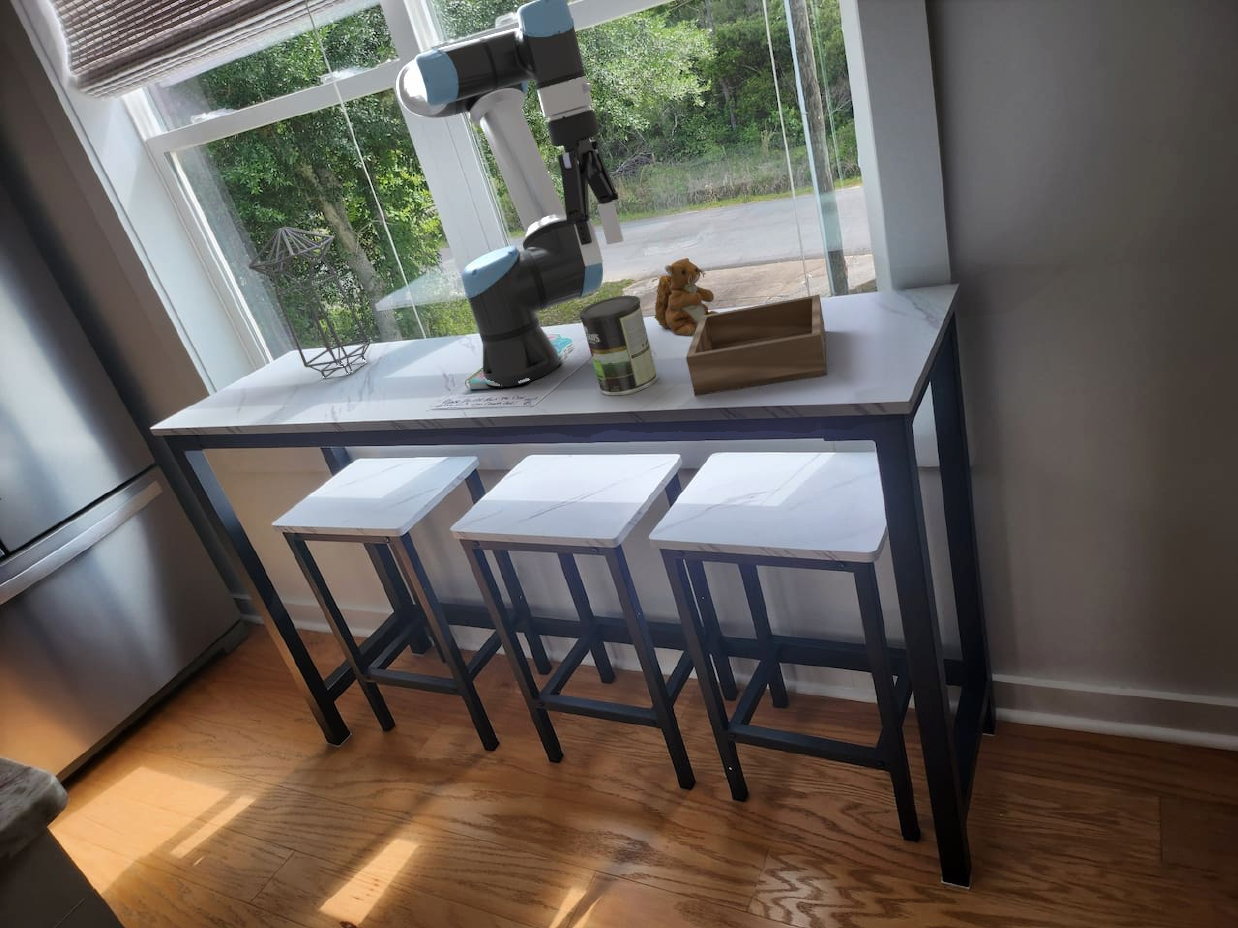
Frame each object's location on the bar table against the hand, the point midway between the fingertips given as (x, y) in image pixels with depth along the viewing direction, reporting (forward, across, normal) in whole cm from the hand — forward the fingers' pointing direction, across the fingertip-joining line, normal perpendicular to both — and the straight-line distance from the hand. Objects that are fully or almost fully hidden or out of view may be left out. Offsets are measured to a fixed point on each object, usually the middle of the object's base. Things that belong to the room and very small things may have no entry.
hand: (605, 253), depth 137 cm
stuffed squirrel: (+23, +29, -3) cm, 37 cm away
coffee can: (+23, +1, +2) cm, 23 cm away
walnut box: (+23, +2, -21) cm, 31 cm away
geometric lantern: (+22, +38, +84) cm, 94 cm away
